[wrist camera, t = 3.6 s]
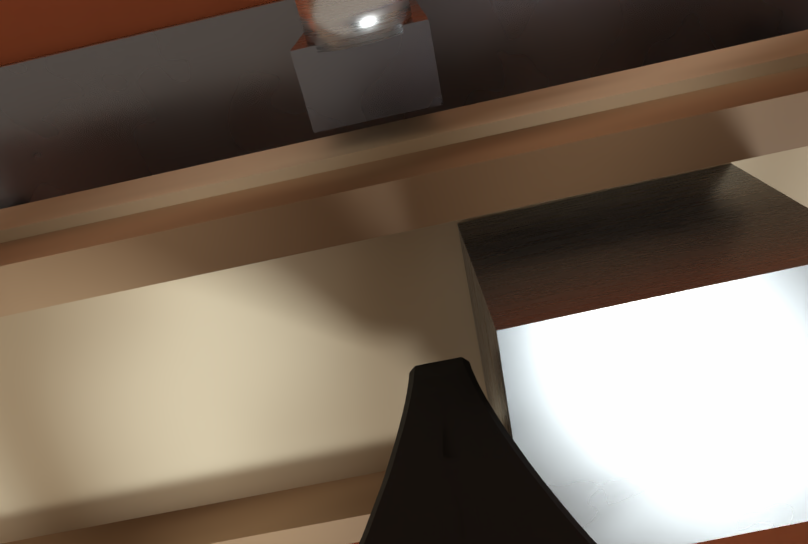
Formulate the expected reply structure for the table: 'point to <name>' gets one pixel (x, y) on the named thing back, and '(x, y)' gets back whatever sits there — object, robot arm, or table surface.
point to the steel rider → (653, 352)
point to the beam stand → (324, 76)
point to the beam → (313, 297)
